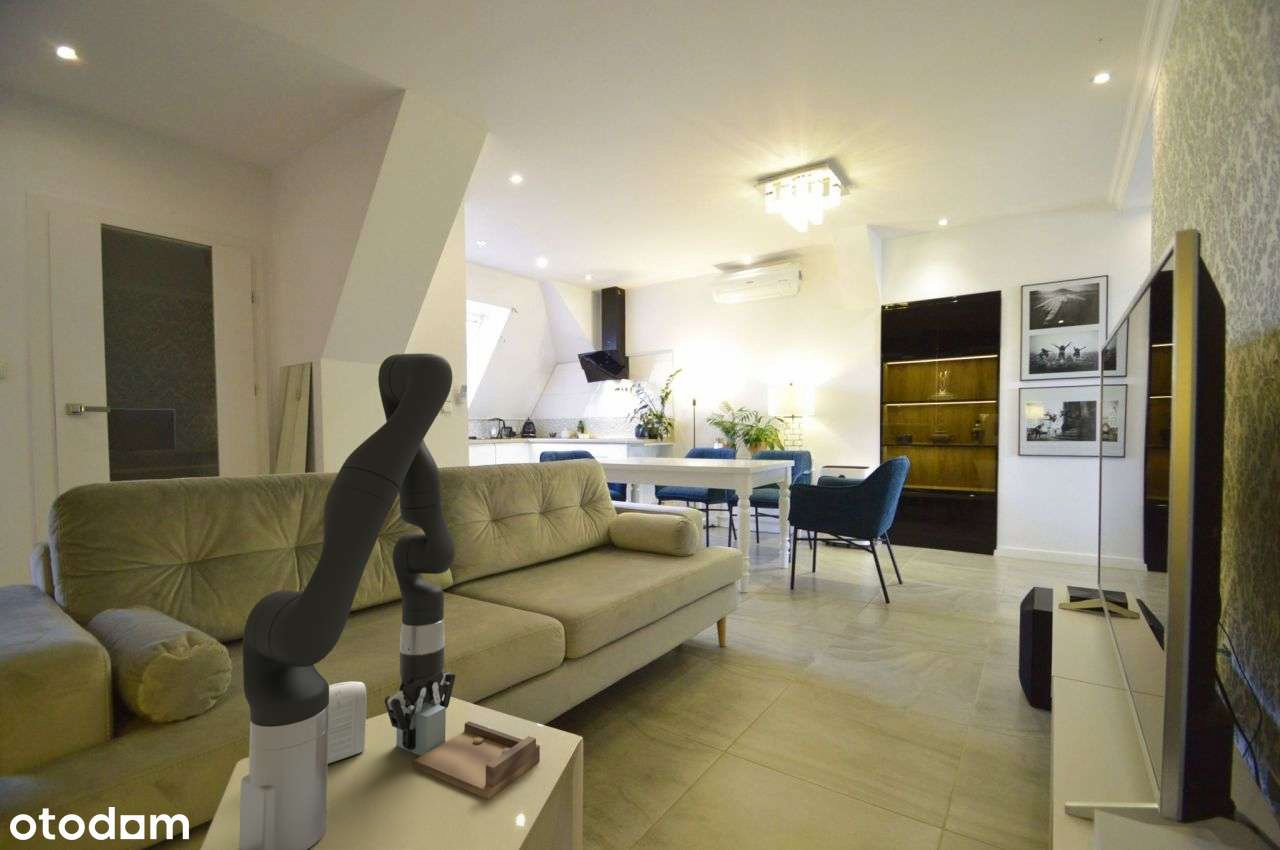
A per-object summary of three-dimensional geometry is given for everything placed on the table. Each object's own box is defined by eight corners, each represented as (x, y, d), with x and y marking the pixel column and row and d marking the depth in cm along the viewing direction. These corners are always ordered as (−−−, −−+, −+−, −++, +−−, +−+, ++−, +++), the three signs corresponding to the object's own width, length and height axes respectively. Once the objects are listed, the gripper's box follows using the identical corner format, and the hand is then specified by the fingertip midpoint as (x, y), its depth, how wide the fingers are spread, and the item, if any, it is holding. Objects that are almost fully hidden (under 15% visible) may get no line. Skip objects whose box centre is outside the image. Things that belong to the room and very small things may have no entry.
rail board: (488, 799, 85) (488, 771, 85) (413, 767, 93) (414, 741, 93) (539, 761, 95) (539, 735, 95) (468, 735, 104) (468, 712, 104)
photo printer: (360, 742, 101) (362, 673, 102) (368, 751, 98) (370, 680, 99) (295, 764, 94) (297, 690, 95) (302, 775, 91) (304, 698, 92)
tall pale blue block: (426, 758, 96) (427, 716, 96) (396, 745, 100) (397, 706, 100) (445, 747, 100) (445, 707, 100) (415, 735, 104) (415, 697, 104)
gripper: (402, 662, 93) (400, 768, 92) (467, 637, 105) (466, 730, 104) (373, 654, 96) (371, 755, 96) (439, 630, 109) (438, 720, 108)
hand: (420, 742), depth 100 cm, fingers closed on tall pale blue block, 4 cm apart
